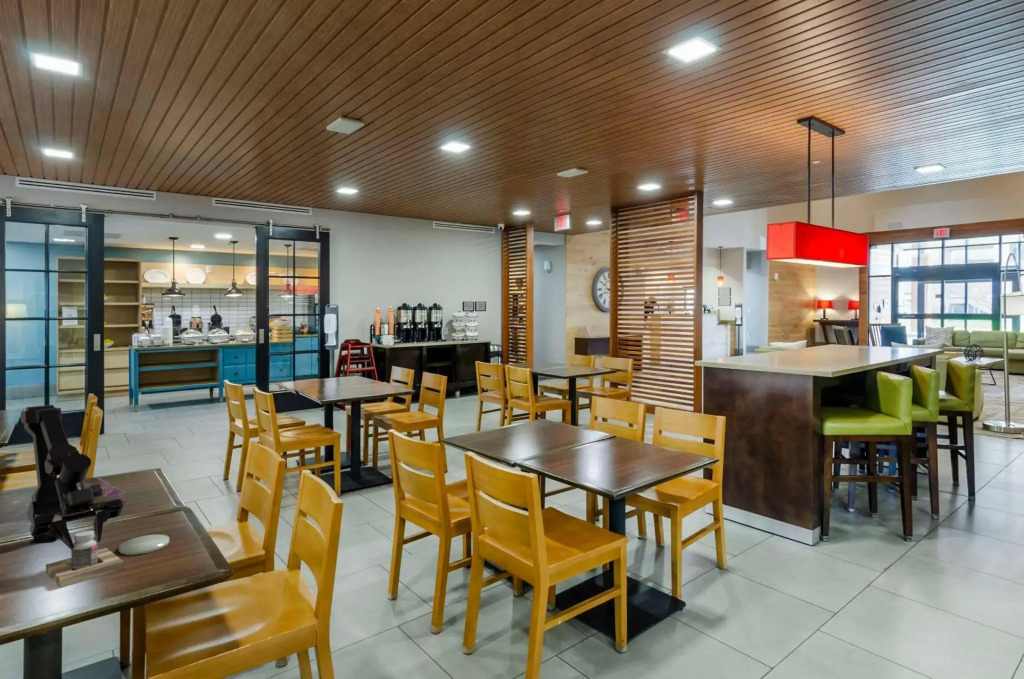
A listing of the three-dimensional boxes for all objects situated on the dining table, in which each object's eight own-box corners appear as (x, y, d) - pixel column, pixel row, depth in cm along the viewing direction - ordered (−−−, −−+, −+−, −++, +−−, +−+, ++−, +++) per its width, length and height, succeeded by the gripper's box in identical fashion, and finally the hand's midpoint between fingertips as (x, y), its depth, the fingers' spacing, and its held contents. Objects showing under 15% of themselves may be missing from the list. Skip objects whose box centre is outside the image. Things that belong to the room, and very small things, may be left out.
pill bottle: (97, 572, 142) (96, 534, 141) (70, 577, 139) (69, 538, 138) (98, 564, 146) (98, 527, 146) (72, 569, 143) (72, 531, 143)
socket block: (46, 572, 141) (45, 564, 141) (106, 555, 151) (106, 548, 151) (60, 587, 133) (60, 579, 133) (123, 568, 143) (123, 561, 143)
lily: (124, 510, 189) (136, 482, 194) (84, 503, 183) (97, 474, 187) (119, 512, 198) (131, 485, 202) (81, 505, 192) (93, 477, 196)
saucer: (110, 556, 151) (109, 553, 151) (131, 539, 162) (131, 535, 162) (158, 553, 153) (158, 549, 153) (176, 536, 165) (176, 533, 165)
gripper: (31, 484, 137) (44, 539, 130) (120, 468, 151) (135, 517, 145) (24, 509, 142) (36, 563, 135) (111, 491, 156) (125, 539, 150)
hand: (86, 544), depth 141 cm, fingers closed on pill bottle, 5 cm apart
